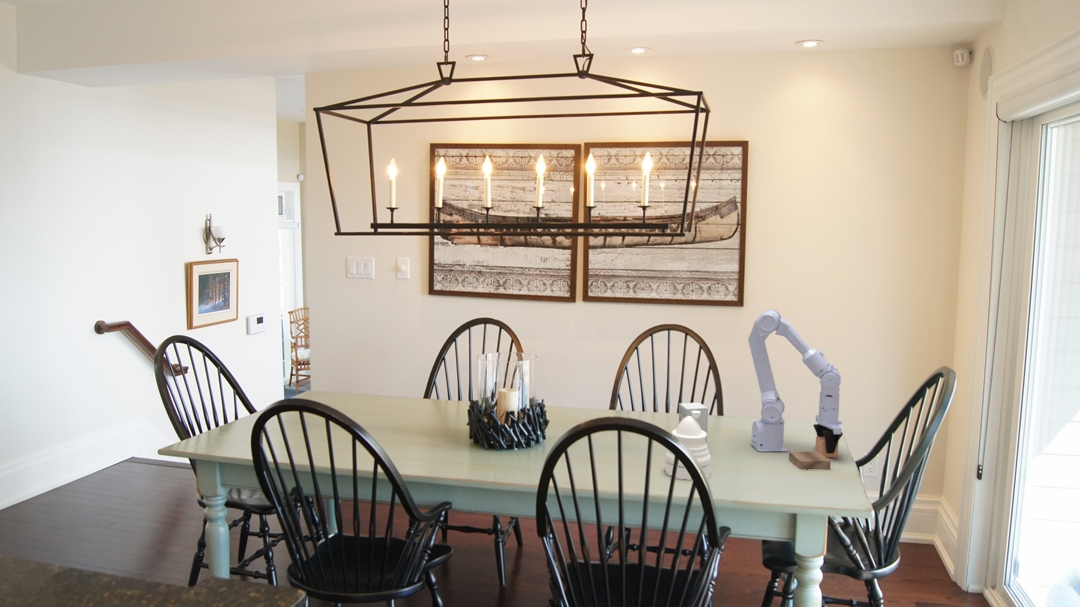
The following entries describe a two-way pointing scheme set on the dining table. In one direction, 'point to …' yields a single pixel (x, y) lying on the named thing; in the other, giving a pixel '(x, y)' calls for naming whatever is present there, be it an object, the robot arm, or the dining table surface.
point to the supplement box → (687, 409)
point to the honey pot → (690, 446)
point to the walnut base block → (809, 460)
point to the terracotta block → (824, 447)
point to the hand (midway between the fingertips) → (826, 450)
